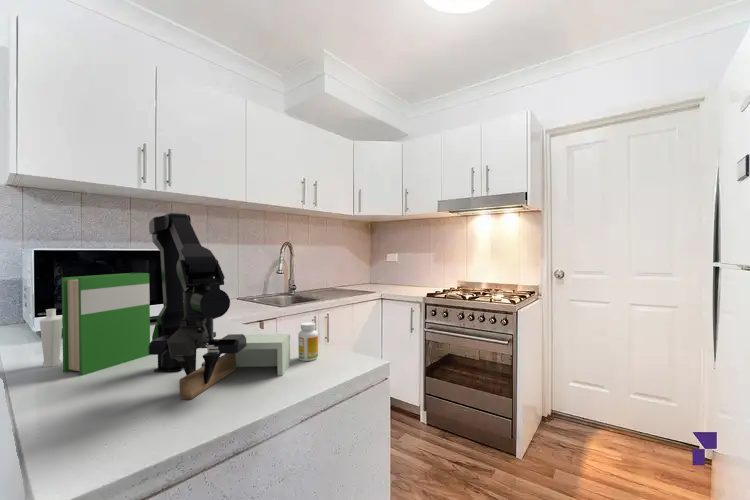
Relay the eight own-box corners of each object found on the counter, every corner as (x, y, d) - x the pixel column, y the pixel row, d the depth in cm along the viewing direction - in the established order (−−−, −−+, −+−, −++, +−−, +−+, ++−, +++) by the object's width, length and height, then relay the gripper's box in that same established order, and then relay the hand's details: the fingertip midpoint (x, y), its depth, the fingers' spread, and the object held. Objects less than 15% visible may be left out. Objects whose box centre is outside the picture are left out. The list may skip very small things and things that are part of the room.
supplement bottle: (320, 355, 99) (320, 321, 99) (315, 361, 94) (314, 325, 94) (302, 355, 100) (301, 321, 100) (295, 361, 94) (295, 325, 94)
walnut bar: (180, 398, 71) (179, 379, 71) (226, 369, 89) (226, 353, 89) (191, 399, 71) (190, 379, 71) (236, 369, 88) (235, 353, 89)
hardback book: (81, 375, 85) (80, 278, 85) (63, 372, 88) (61, 277, 88) (150, 354, 102) (149, 273, 102) (132, 352, 104) (131, 272, 104)
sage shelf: (215, 376, 83) (215, 343, 83) (229, 365, 91) (228, 335, 91) (282, 375, 84) (282, 342, 84) (290, 364, 92) (289, 334, 92)
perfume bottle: (35, 366, 92) (34, 310, 92) (55, 361, 96) (55, 307, 96) (45, 368, 91) (44, 311, 91) (65, 363, 95) (64, 308, 95)
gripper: (129, 320, 67) (130, 400, 67) (226, 318, 68) (227, 398, 68) (163, 310, 78) (164, 379, 78) (246, 308, 79) (247, 377, 79)
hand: (199, 383), depth 75 cm, fingers closed on walnut bar, 3 cm apart
